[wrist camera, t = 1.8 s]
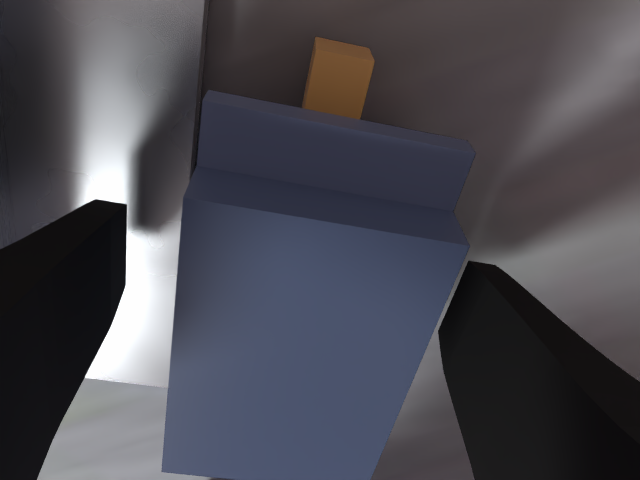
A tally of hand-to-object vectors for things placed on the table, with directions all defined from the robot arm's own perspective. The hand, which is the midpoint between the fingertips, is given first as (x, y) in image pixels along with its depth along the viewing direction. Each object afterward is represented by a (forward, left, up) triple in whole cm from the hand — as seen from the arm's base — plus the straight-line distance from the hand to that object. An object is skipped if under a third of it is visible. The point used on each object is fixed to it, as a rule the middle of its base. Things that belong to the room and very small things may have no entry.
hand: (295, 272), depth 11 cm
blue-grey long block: (0, 0, -2) cm, 2 cm away
